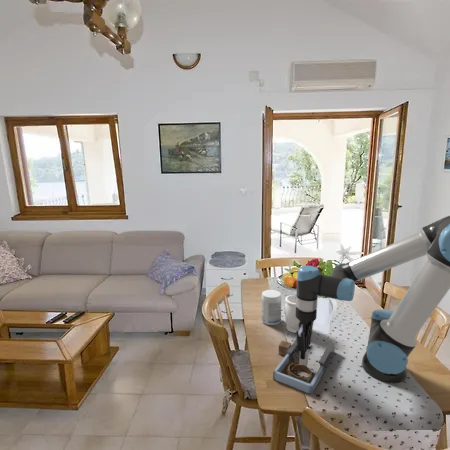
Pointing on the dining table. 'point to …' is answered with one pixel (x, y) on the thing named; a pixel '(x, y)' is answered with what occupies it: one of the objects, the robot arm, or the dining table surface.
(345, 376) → the dining table surface
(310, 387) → the tray
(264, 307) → the supplement tub
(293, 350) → the slot rail
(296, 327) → the jar
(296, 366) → the bracelet
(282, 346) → the brown wooden cube
